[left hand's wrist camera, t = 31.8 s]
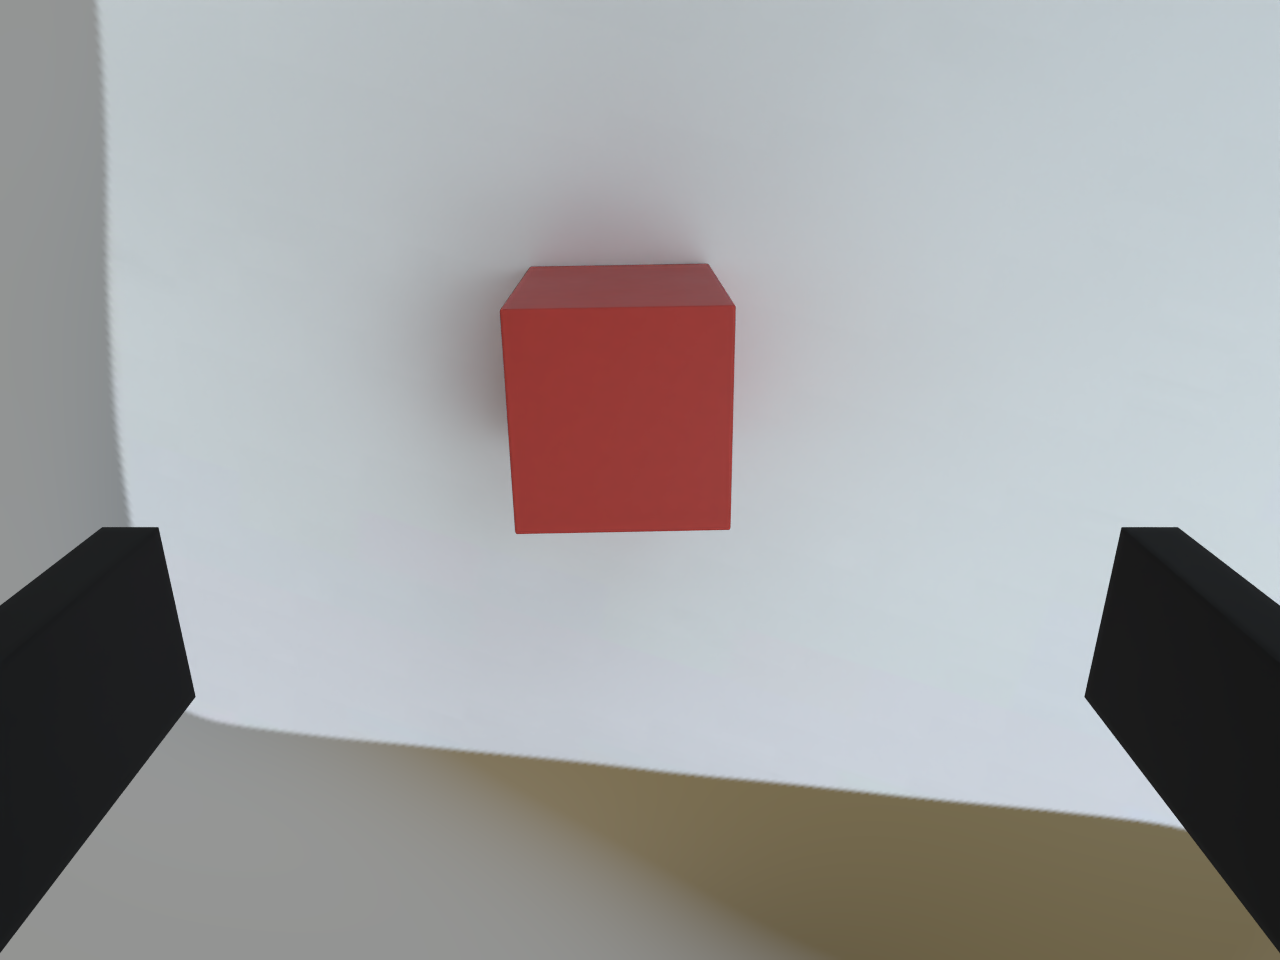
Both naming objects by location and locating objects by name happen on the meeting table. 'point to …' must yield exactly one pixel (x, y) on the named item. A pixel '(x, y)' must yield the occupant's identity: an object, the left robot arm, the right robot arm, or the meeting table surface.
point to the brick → (619, 398)
